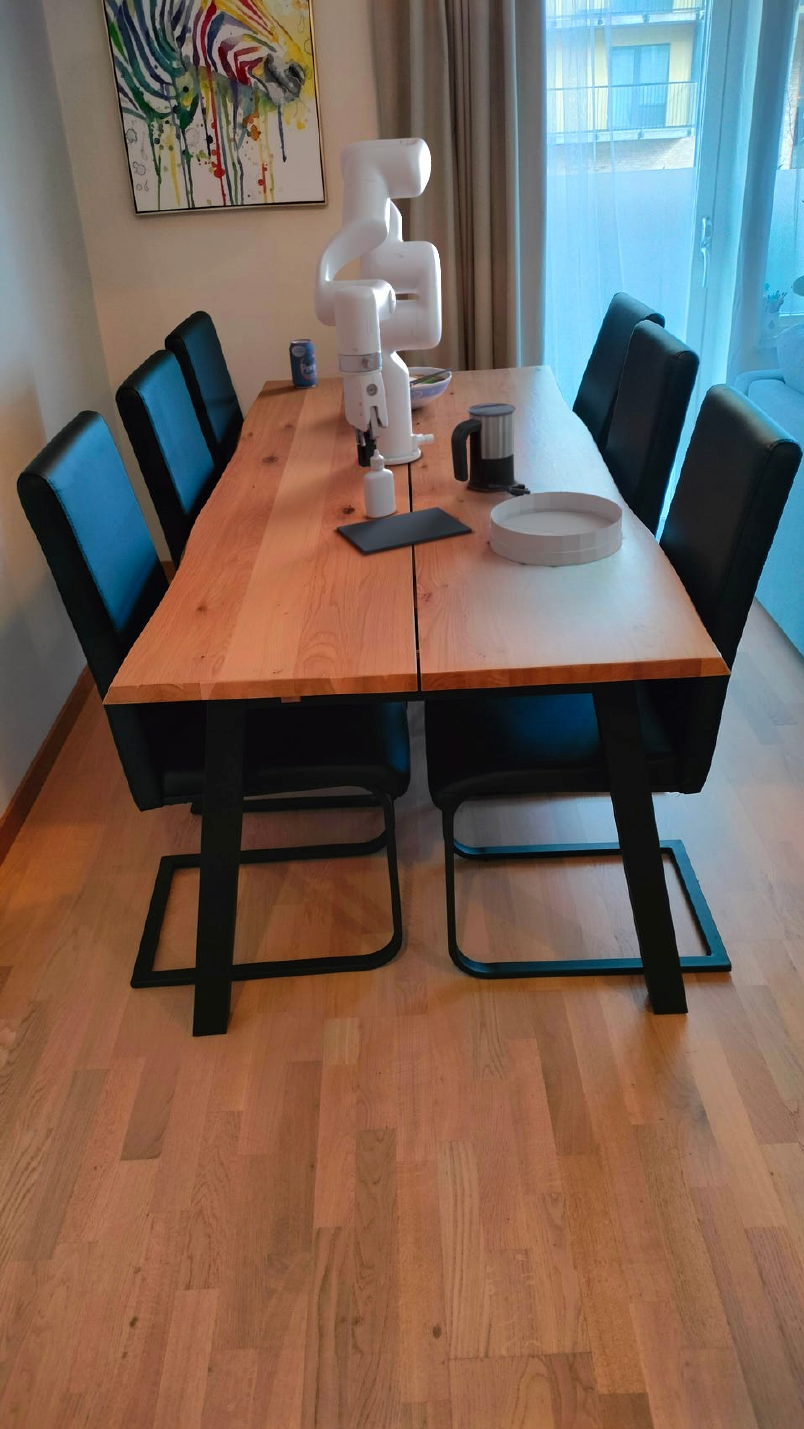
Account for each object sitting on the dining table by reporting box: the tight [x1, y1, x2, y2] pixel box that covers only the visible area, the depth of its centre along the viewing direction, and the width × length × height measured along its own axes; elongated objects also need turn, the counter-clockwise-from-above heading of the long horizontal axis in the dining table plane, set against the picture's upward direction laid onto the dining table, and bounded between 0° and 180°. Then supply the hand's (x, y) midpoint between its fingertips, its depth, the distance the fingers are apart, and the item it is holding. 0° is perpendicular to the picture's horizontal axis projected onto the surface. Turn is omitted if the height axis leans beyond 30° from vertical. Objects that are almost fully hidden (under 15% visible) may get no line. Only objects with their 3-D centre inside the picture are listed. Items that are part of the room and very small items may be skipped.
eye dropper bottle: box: [363, 450, 396, 519], centre depth 188 cm, size 4×6×12 cm
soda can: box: [288, 338, 318, 389], centre depth 285 cm, size 7×7×12 cm
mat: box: [336, 506, 473, 556], centre depth 182 cm, size 20×14×1 cm
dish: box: [489, 491, 624, 567], centre depth 172 cm, size 22×22×5 cm
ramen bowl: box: [407, 366, 457, 411], centre depth 258 cm, size 25×23×8 cm
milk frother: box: [450, 402, 531, 497], centre depth 195 cm, size 14×16×15 cm
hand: (368, 465), depth 190 cm, fingers closed
